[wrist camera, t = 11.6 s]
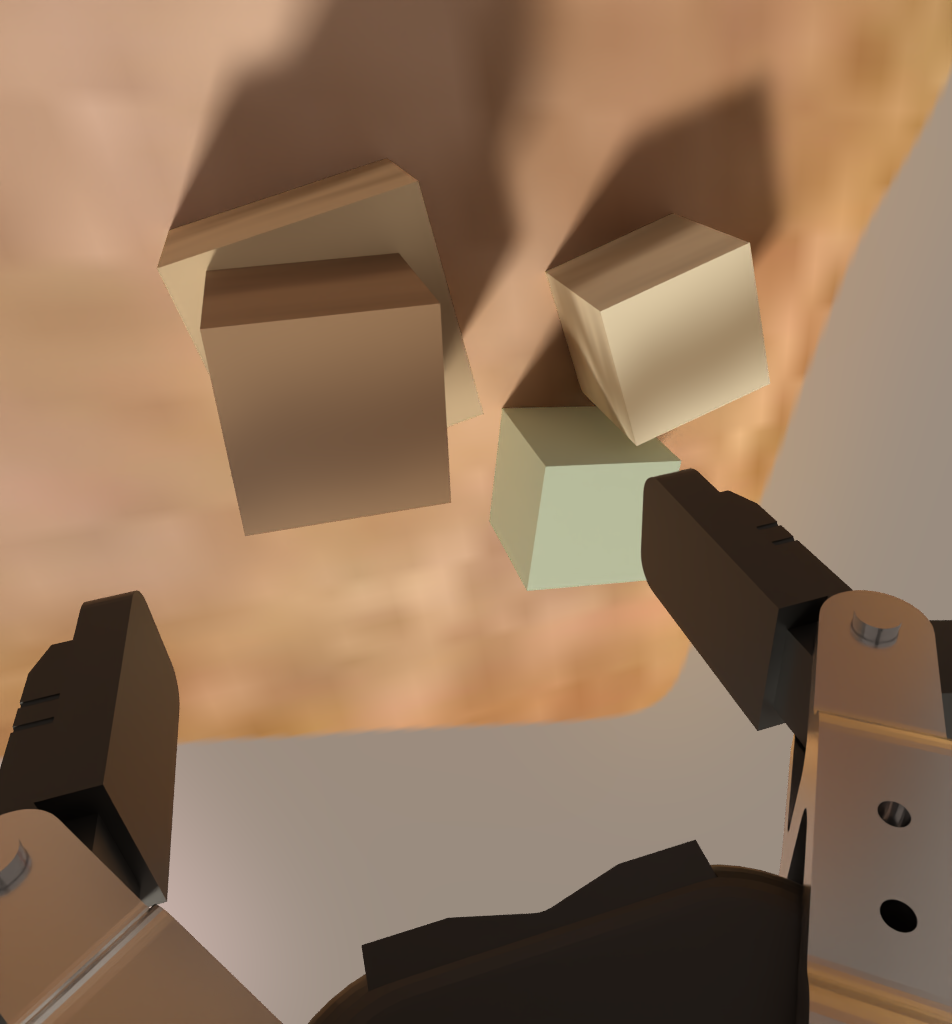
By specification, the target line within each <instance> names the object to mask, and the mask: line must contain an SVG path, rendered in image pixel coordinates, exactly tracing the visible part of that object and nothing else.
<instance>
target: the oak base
mask: <svg viewBox="0 0 952 1024" xmlns="http://www.w3.org/2000/svg"><path fill="white" fill-rule="evenodd" d="M392 253H399V254H400V255H401V256H402V257H403V259H404V260H405V261H406V262H407V264H408V265H409V266H410V267H411V268H412V270H413V271H414V272H415V273H416V275H417V276H418V277H419V278H420V279H421V281H422V282H423V283H424V284H425V285H426V287H427V288H428V289H429V290H430V292H431V293H432V294H433V295H434V296H435V298H436V299H437V300H438V301H439V303H440V308H441V326H442V345H443V363H444V382H445V400H446V419H447V427H450V426H452V425H455V424H458V423H460V422H463V421H466V420H469V419H471V418H474V417H477V416H480V415H482V414H483V410H482V406H481V403H480V399H479V396H478V392H477V389H476V385H475V381H474V378H473V374H472V371H471V367H470V364H469V360H468V356H467V353H466V349H465V346H464V342H463V339H462V335H461V332H460V328H459V324H458V321H457V317H456V314H455V310H454V307H453V303H452V299H451V296H450V292H449V289H448V285H447V282H446V278H445V275H444V271H443V267H442V264H441V260H440V257H439V253H438V250H437V246H436V242H435V239H434V235H433V232H432V228H431V225H430V221H429V218H428V214H427V210H426V207H425V203H424V200H423V196H422V193H421V189H420V185H419V182H418V180H416V179H415V178H414V177H412V176H411V175H409V174H408V173H407V172H405V171H404V170H403V169H401V168H400V167H398V166H397V165H396V164H394V163H393V162H392V161H390V160H389V159H388V158H386V159H383V160H380V161H377V162H374V163H371V164H367V165H364V166H361V167H358V168H355V169H352V170H349V171H346V172H343V173H340V174H337V175H334V176H331V177H328V178H325V179H322V180H319V181H316V182H313V183H310V184H307V185H304V186H301V187H298V188H295V189H292V190H289V191H286V192H283V193H280V194H277V195H274V196H271V197H268V198H265V199H262V200H259V201H256V202H253V203H250V204H247V205H244V206H241V207H238V208H235V209H232V210H229V211H226V212H223V213H220V214H216V215H213V216H210V217H207V218H204V219H201V220H198V221H195V222H192V223H189V224H186V225H183V226H180V227H177V228H174V229H171V230H169V232H168V235H167V239H166V242H165V245H164V248H163V251H162V254H161V257H160V261H159V264H158V267H157V270H158V272H159V274H160V276H161V278H162V280H163V282H164V284H165V286H166V288H167V290H168V292H169V294H170V296H171V298H172V300H173V302H174V304H175V306H176V308H177V310H178V312H179V314H180V316H181V318H182V320H183V322H184V325H185V327H186V329H187V331H188V333H189V335H190V337H191V339H192V341H193V343H194V345H195V347H196V349H197V351H198V353H199V355H200V357H201V359H202V361H203V363H204V365H205V367H206V369H207V371H208V373H209V369H208V364H207V360H206V355H205V350H204V346H203V341H202V337H201V332H200V323H201V314H202V304H203V295H204V286H205V276H206V271H208V270H219V269H230V268H241V267H251V266H262V265H273V264H284V263H295V262H306V261H316V260H327V259H338V258H349V257H360V256H370V255H381V254H392ZM209 375H210V373H209Z"/></svg>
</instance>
